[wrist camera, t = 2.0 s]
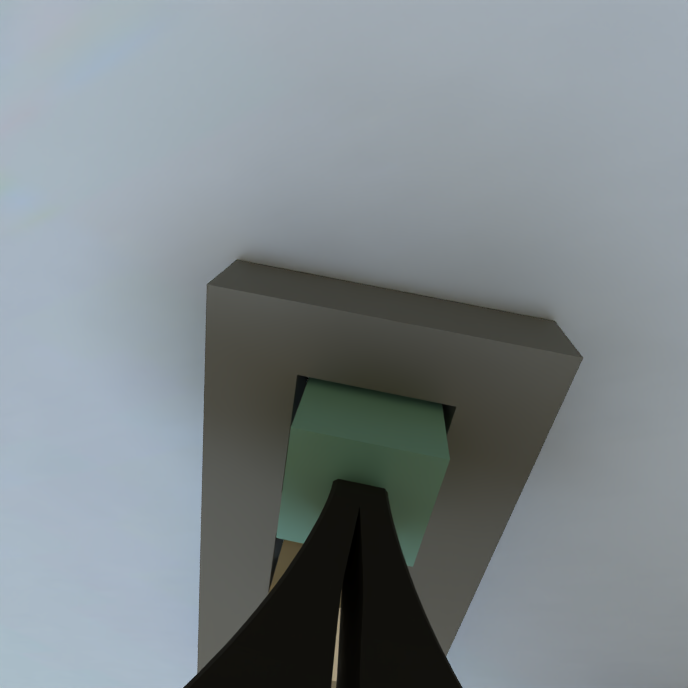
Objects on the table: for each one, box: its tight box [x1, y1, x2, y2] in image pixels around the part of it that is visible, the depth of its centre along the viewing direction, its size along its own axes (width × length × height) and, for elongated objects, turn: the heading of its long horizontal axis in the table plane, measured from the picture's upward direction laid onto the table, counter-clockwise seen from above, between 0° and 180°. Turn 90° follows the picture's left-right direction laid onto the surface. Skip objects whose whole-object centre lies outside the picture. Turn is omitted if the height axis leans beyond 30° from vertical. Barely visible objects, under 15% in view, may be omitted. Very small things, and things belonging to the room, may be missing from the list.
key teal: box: [276, 377, 450, 567], centre depth 13 cm, size 4×4×3 cm
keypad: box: [197, 260, 583, 674], centre depth 18 cm, size 22×10×2 cm, turn 171°
